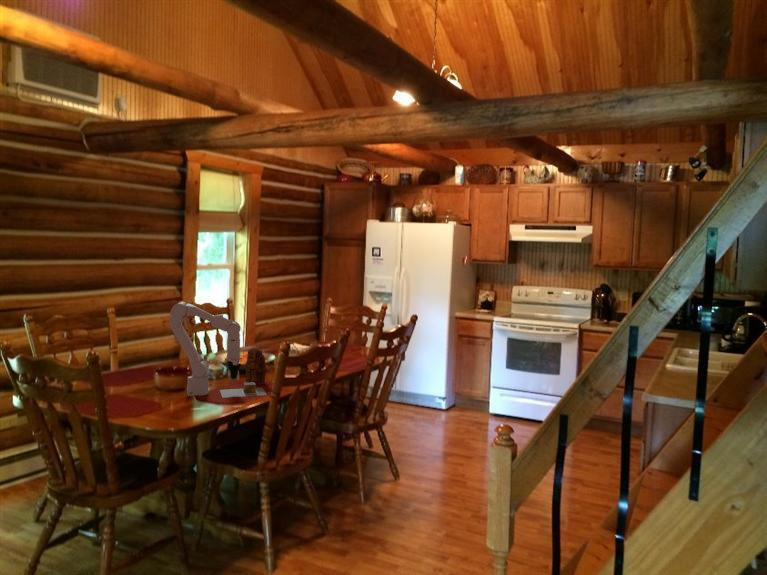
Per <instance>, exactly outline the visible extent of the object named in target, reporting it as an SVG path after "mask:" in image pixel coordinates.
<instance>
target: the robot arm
mask: <svg viewBox="0 0 767 575" xmlns="http://www.w3.org/2000/svg"><path fill="white" fill-rule="evenodd" d="M186 316H187V317H188V316H189V317H190V316H196V317H198V318H199V319H203V320H205V321H208V322H210V324H211V326H212V327H213V328H216V329H218V330H220V331H223V332H226V333H227V341H226V346H227V347H226V350H227V351H226V354H227V355H226V364H227V367H228V370H230V373H231V378H232V379H236V378H237V374H238V370H239V369H240V367H241V363H240V360H243V356H241V338H240V337H241V333H240V331H241V328H242V327H241V324H240V323H239V322H237V321H234V320H233V319H229V318H226V317H224V315H223V314H216V315H215V314H214V315H213V314H211V313H209V312H208V311H206V310H204V309H201V307H198V306H196V305H194V304H192V303H189V302H186V301H179V302H177V303H176V304H174V305H172V307H171V309H170V312H169V326H170V329H171V331H172V333H173V335H174V336H175V338H176V340H177V341H178V343H179V345H180V347H181V348H182V351H183V352H184V354H185V356H186V357H187V359H188V361H189V366H190V367H191V373H192V375H191V376H187V387H186V393H187V397H190V396H191V397H192V396H205V395H208V394H209V373H208V372H207V371H208V370H209V367H210V366H209V365H210V364H209V363H208V361H207V360H205V359H204V358H203V356H202V355H201V354H200V353H199V352H198V350H197V348H196V347H195V345H194V343H193V341H192V339H191V338H190V335H189V334H188V331H186V328H185V327H184V326H183V322H184V320H185V318H186ZM239 371H240V370H239Z"/></svg>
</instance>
